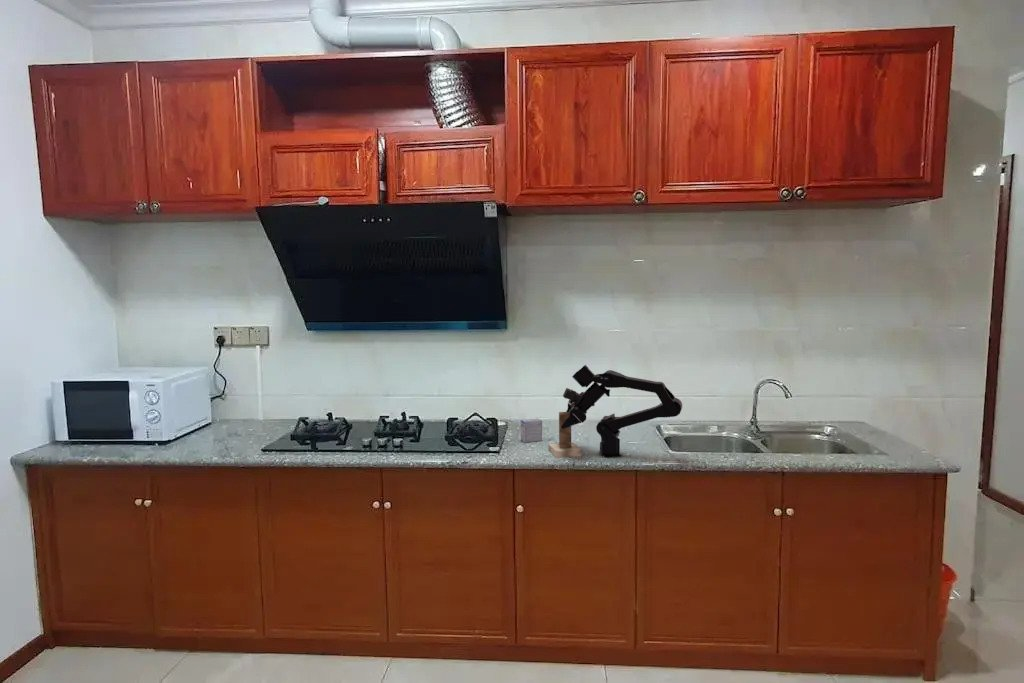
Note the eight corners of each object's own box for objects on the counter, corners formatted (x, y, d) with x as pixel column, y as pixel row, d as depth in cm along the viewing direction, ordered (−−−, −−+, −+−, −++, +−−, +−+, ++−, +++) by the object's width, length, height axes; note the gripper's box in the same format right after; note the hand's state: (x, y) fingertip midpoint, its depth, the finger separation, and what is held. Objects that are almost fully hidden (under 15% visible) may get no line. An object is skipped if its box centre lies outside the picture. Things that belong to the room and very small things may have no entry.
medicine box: (537, 438, 250) (538, 417, 249) (542, 441, 246) (542, 420, 245) (520, 440, 247) (520, 419, 246) (524, 443, 243) (524, 422, 242)
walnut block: (570, 445, 231) (570, 411, 229) (571, 448, 226) (571, 414, 225) (559, 445, 231) (558, 412, 229) (559, 448, 226) (559, 414, 225)
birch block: (573, 450, 235) (573, 442, 234) (581, 457, 225) (581, 449, 225) (548, 451, 232) (548, 444, 232) (555, 459, 223) (555, 451, 222)
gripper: (574, 377, 235) (546, 404, 236) (577, 385, 216) (546, 415, 218) (594, 397, 235) (565, 424, 237) (599, 407, 217) (568, 437, 218)
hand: (561, 424), depth 228 cm, fingers open, 9 cm apart
